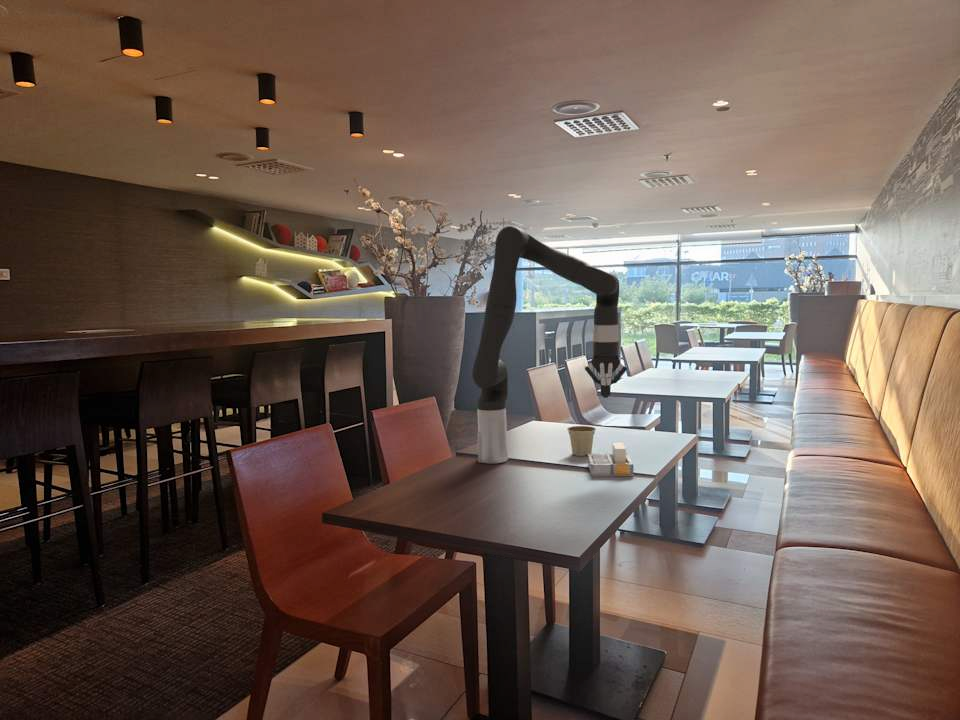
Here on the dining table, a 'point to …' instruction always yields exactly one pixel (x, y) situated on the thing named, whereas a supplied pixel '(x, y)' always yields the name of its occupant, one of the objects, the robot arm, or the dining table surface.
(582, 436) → the flower pot
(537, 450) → the dining table surface
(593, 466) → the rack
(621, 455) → the panel
